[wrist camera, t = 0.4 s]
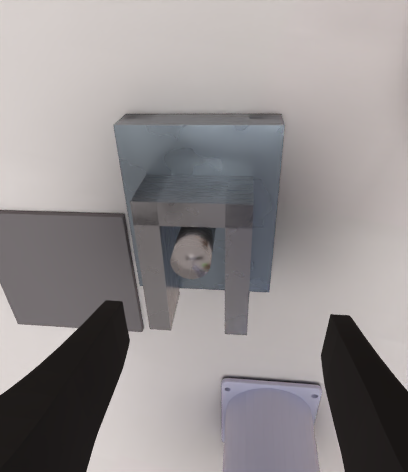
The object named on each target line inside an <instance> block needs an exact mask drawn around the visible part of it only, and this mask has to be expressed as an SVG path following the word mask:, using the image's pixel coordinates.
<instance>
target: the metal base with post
mask: <svg viewBox="0 0 408 472" xmlns="http://www.w3.org/2000/svg"><path fill="white" fill-rule="evenodd" d="M284 127H285V125H284V121H283V118H282V114H125V115H124V116H123V117H122V118H121V119H120V120H119V121H117V122H116V123H115V124H114V131H115V137H116V143H117V149H118V156H119V162H120V168H121V174H122V180H123V186H124V192H125V198H126V204H127V211H128V217H129V223H130V229H131V235H132V241H133V247H134V253H135V259H136V266H137V272H138V278H139V284H140V286H143V282H142V276H141V269H140V263H139V257H138V250H137V244H136V238H135V231H134V225H133V219H132V212H131V206H130V201H131V199H132V197H133V196H134V194H135V192H136V191H137V189H138V187H139V186H140V184H141V182H142V181H143V179H144V177H145V176H146V175H205V176H253V195H254V208H253V227H252V246H251V265H250V285H249V291H252V292H269V289H270V279H271V268H272V257H273V246H274V235H275V225H276V214H277V203H278V192H279V181H280V171H281V160H282V149H283V138H284ZM174 233H175V246H174V249H173V253H172V256H171V260H170V263H171V267H172V269H173V270H174V271H175V273H177V274H178V280H179V288H192V289H212V290H225V228H209V227H178V226H174Z"/></svg>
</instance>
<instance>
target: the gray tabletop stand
mask: <svg viewBox="0 0 408 472" xmlns="http://www.w3.org/2000/svg"><path fill="white" fill-rule="evenodd" d="M130 206H131V212H132V219H133V225H134V231H135V238H136V244H137V250H138V257H139V263H140V269H141V276H142V282H143V289H144V295H145V301H146V308H147V314H148V320H149V327H150V329H157V330H171V328H172V324H173V320H174V316H175V311H176V307H177V303H178V299H179V295H180V291H179V280H178V274H177V273H175V271H174V270H173V269H172V267H171V263H170V260H171V256H172V253H173V249H174V246H175V233H174V226H178V227H209V228H225V334H237V335H247V323H248V304H249V285H250V265H251V246H252V227H253V208H254V195H253V176H205V175H146V176H145V177H144V179H143V181H142V182H141V184H140V186H139V187H138V189H137V191H136V192H135V194H134V196H133V197H132V199H131V201H130Z"/></svg>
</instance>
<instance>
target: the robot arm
mask: <svg viewBox="0 0 408 472" xmlns="http://www.w3.org/2000/svg"><path fill="white" fill-rule="evenodd" d="M129 342H130V339H129V334H128V329H127V323H126V318H125V312H124V307H123V302H122V301H111V300H106V301H104V302H103V303H102V304H101V305H100V306H99V307H98V308H97V309H96V311H95V312H94V313H93V314H92V315H91V316H90V317H89V318H88V319H87V320H86V321H85V322H84V323H83V324H82V325H81V326H80V327H79V328H78V329H77V330H76V331H75V332H74V333H73V334H72V335H71V336H70V337H69V338H68V339H67V340H66V341H65V342H64V343H63V344H62V345H61V346H60V347H59V348H57V349H56V350H55V351H54V352H53V353H52V354H51V355H50V356H49V357H47V358H46V359H45V360H44V361H43V362H42V363H41V364H40V365H38V366H37V367H36V368H35V369H34V370H33V371H31V372H30V373H29V374H28V375H26V376H25V377H24V378H23V379H21V380H20V381H19V382H18V383H16V384H15V385H14V386H12V387H11V388H10V389H8V390H7V391H6V392H4V393H3V394H1V395H0V472H86V470H87V467H88V463H89V460H90V457H91V453H92V450H93V446H94V443H95V440H96V437H97V434H98V431H99V428H100V426H101V423H102V421H103V418H104V416H105V413H106V410H107V408H108V405H109V403H110V400H111V398H112V395H113V393H114V390H115V387H116V385H117V382H118V380H119V377H120V374H121V372H122V369H123V366H124V362H125V358H126V355H127V350H128V346H129ZM321 360H322V368H323V376H324V384H325V388H326V393H327V397H328V401H329V405H330V409H331V413H332V417H333V422H334V426H335V430H336V434H337V438H338V442H339V446H340V450H341V454H342V459H343V464H344V469H345V472H408V391H407V390H406V389H405V388H404V386H403V385H402V384H401V383H400V382H399V380H398V379H397V378H396V377H395V376H394V374H393V373H392V372H391V371H390V369H389V368H388V367H387V366H386V364H385V363H384V362H383V360H382V359H381V358H380V357H379V355H378V354H377V353H376V351H375V350H374V349H373V347H372V346H371V345H370V343H369V342H368V340H367V339H366V338H365V336H364V335H363V333H362V332H361V331H360V329H359V328H358V326H357V325H356V323H355V322H354V321H353V319H352V318H351V317H350V316H348V315H333V314H331V315H330V319H329V323H328V327H327V332H326V336H325V340H324V345H323V349H322V353H321ZM221 388H222V442H224V455H223V472H320V467H319V461H318V454H317V447H316V441H315V434H314V423H315V419H316V415H317V411H318V407H319V402H320V398H321V394H322V389H321V387H320V386H319V385H314V384H301V383H288V382H275V381H261V380H248V379H235V378H224V379H223V380H222V385H221Z"/></svg>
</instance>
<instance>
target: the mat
mask: <svg viewBox="0 0 408 472" xmlns="http://www.w3.org/2000/svg"><path fill="white" fill-rule="evenodd" d="M0 284H1V286H2V288H3V290H4V293H5V295H6V297H7V300H8V302H9V304H10V307H11V309H12V311H13V313H14V316H15V318H16V320H17V323H18V324H25V325H41V326H56V327H72V328H79V327H80V326H81V325H82V324H83V323H84V322H85V321H86V320H87V319H88V318H89V317H90V316H91V315H92V314H93V313H94V312H95V311H96V309H97V308H98V307H99V306H100V305H101V304H102V303H103V302H104V301H106V300H111V301H122V302H123V307H124V312H125V318H126V323H127V329H128V331H135V332H142V331H143V322H142V316H141V310H140V304H139V298H138V292H137V286H136V281H135V275H134V269H133V263H132V257H131V251H130V245H129V239H128V234H127V228H126V222H125V216H124V214H106V213H71V212H36V211H1V210H0Z"/></svg>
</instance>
